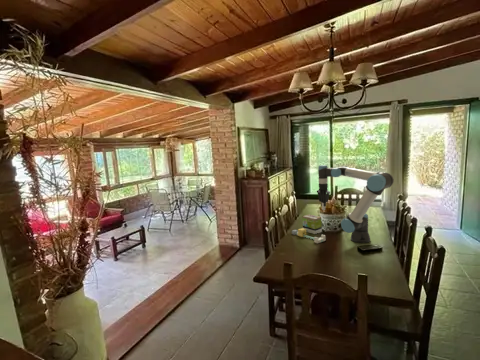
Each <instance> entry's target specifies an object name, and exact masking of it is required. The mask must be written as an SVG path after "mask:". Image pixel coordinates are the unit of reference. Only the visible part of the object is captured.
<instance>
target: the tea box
mask: <svg viewBox="0 0 480 360" xmlns="http://www.w3.org/2000/svg"><path fill="white" fill-rule="evenodd" d="M322 219H323V218H322V216H318V215H314V214H313V215H312V214H305V215H303V216H302V228H303V229H306V233H310V234H314V235H317V233H318V234H320V233H322V232H323V229H322V224H323V223H322Z"/></svg>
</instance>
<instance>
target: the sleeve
mask: <svg viewBox="0 0 480 360" xmlns="http://www.w3.org/2000/svg"><path fill="white" fill-rule="evenodd" d="M297 230H298V235H297V236H298V237H301V238H304V237H303V234H304V235H307V232H306V229H303V227H302V228H298V229H297Z"/></svg>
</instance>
